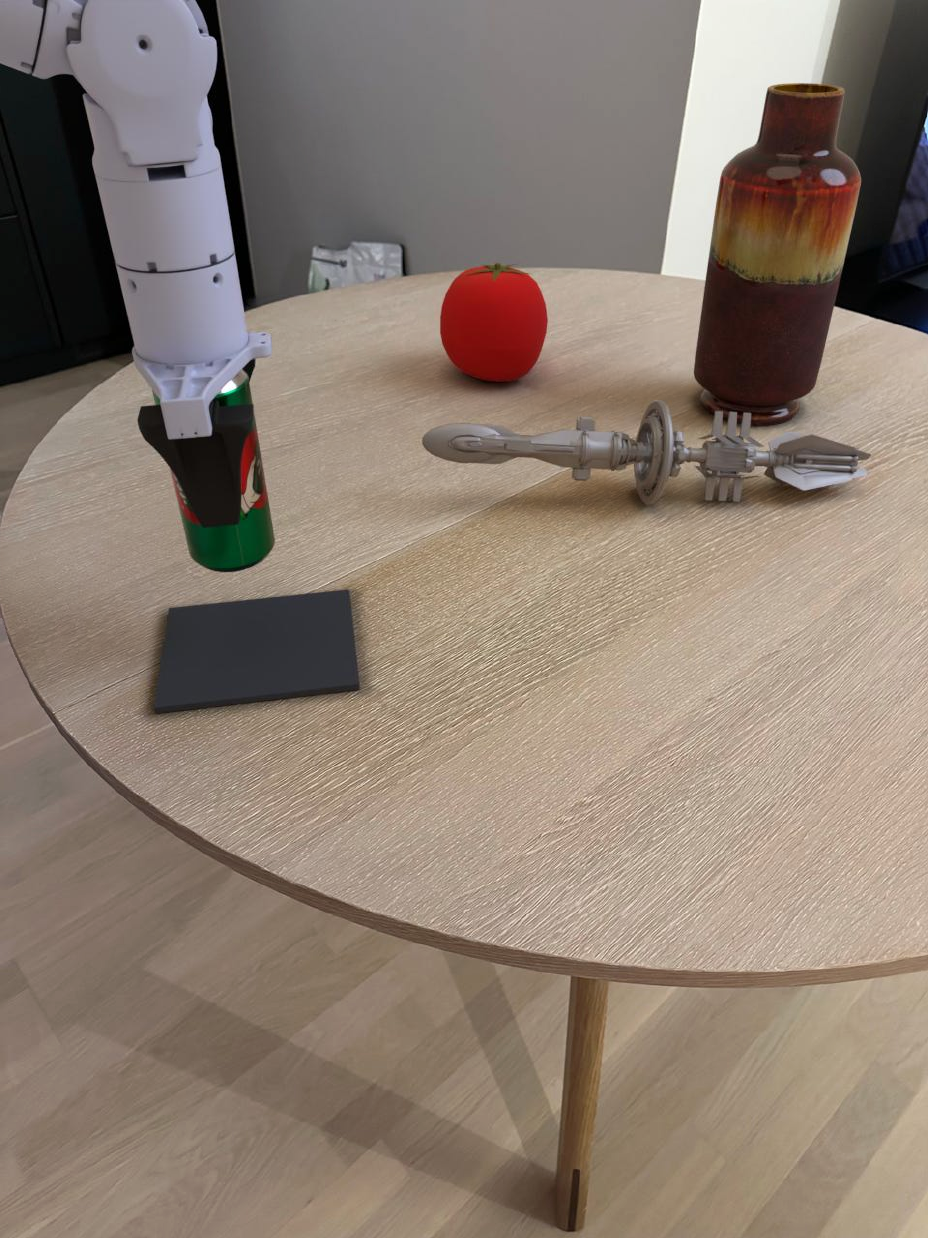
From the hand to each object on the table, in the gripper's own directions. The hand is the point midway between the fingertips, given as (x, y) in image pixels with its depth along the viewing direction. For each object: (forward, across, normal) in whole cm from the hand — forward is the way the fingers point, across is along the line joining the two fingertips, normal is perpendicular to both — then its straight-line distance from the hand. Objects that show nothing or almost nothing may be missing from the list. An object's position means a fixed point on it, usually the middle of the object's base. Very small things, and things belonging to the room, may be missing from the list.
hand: (222, 498), depth 54 cm
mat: (+10, -1, -1) cm, 10 cm away
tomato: (+10, +40, -24) cm, 47 cm away
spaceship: (+10, +13, -31) cm, 35 cm away
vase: (+10, +28, -46) cm, 54 cm away
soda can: (+4, 0, 0) cm, 4 cm away
